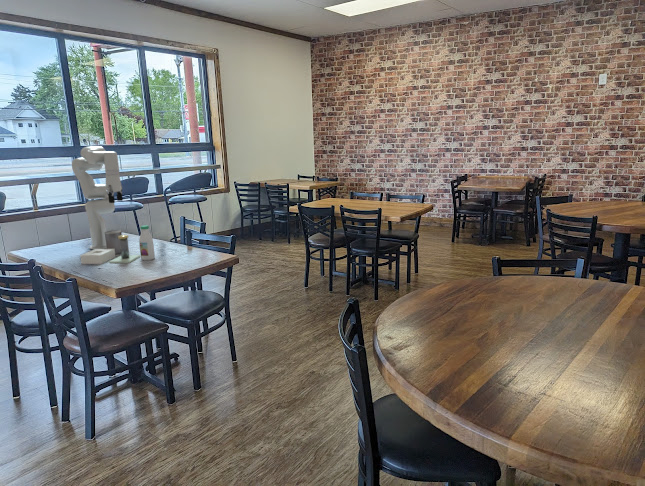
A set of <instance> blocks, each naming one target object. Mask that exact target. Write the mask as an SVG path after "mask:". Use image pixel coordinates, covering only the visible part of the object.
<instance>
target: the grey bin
mask: <svg viewBox="0 0 645 486" xmlns="http://www.w3.org/2000/svg"><path fill="white" fill-rule="evenodd" d="M122 235H123V234H122V230H121V229H116V230H115V229H111V230H106V232H105V239H106V247H107V248H106V249H115V255H119V254H120V255H121V249H120V240H119V239H118V236H122Z"/></svg>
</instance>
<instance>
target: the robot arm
mask: <svg viewBox="0 0 645 486" xmlns="http://www.w3.org/2000/svg"><path fill="white" fill-rule="evenodd" d="M80 156H81V157H77V158H74V159H73V160H72V162H71V168H72V171H73V173H74V175H75V177H76V178H77V180H78V181H79V185H80V188H81V192H82V194H83V196H84V198H85V199H86V200H88V201H87V202H86V203H85V205H84V207H85V212H86V215H87V220H88V224H89V233H90V239H91V245H90V246H89V249H90V250H94V249H107V247H106V239H105V232H106V231H107V226H106V220H105V218H103V217H102V215H104V214H111V213H114V211H115V210H116V207H115V203H116V201H115V195H114V194H115V193H116V200H117V201H118V202H120V201H123V185H122V182H121V178H120V177H121V176H120V166H119V165H120V164H119V157H118V153H117V152H116V151H109V150H108V151H106V149H105V148H104V147H103V146H96V145H95V146H84V147H83V148H82V149H80ZM103 166H104V172H105V183H95V180H94V177H93V176H92V175H90V173H88V171H99V170H101V169H102V168H103Z"/></svg>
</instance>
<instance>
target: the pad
mask: <svg viewBox="0 0 645 486" xmlns="http://www.w3.org/2000/svg"><path fill="white" fill-rule="evenodd" d="M129 256H130V258H127V259H122V258H121V255H119V256H117V257H114V258H112V259H110V260H108V263H109V264H131V263H132V262H134V261H136V260H138V259H139V258H141V254H138V255H137V254H133V255H130V254H129Z"/></svg>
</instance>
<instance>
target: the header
mask: <svg viewBox="0 0 645 486" xmlns="http://www.w3.org/2000/svg"><path fill="white" fill-rule="evenodd" d="M115 258H117V257H116V254H115V249H107V248H104V249H91V250H90V251H87V252H85V253H82V254H80V262H81V265H82V264H83V265H91V264H92V265H93V264H94V265H96V264H97V265H99V264H100V265H102V264H104V263H105V262H109V261H111V260H113V259H115Z"/></svg>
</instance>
